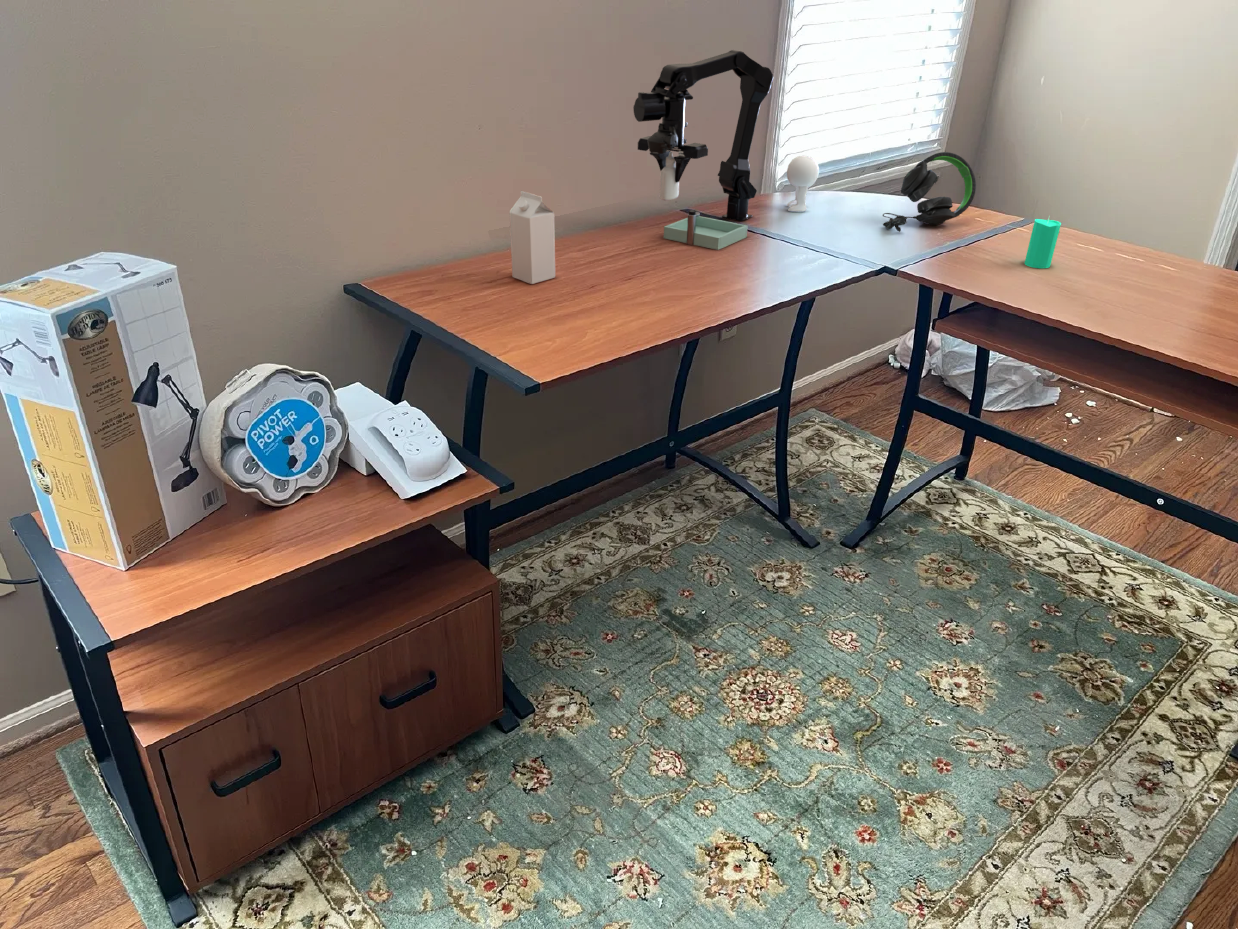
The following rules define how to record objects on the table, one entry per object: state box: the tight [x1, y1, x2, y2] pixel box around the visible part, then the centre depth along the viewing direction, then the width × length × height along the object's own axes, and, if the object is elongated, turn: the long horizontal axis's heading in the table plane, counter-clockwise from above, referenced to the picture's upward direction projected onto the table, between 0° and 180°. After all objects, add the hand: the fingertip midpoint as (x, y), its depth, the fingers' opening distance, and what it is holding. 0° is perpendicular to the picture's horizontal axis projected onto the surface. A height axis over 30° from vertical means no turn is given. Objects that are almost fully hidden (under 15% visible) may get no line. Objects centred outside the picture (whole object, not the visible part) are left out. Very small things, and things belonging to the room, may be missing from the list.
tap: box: [685, 209, 701, 246], centre depth 232 cm, size 4×2×8 cm, turn 143°
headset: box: [881, 151, 977, 233], centre depth 247 cm, size 18×14×29 cm
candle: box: [1023, 214, 1062, 270], centre depth 219 cm, size 6×6×12 cm
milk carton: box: [508, 190, 556, 285], centre depth 204 cm, size 7×7×19 cm
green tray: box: [663, 215, 749, 251], centre depth 238 cm, size 15×17×3 cm
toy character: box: [786, 155, 820, 213], centre depth 262 cm, size 9×9×15 cm
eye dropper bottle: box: [659, 151, 680, 202], centre depth 239 cm, size 4×6×12 cm
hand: (671, 180), depth 241 cm, fingers closed on eye dropper bottle, 3 cm apart
